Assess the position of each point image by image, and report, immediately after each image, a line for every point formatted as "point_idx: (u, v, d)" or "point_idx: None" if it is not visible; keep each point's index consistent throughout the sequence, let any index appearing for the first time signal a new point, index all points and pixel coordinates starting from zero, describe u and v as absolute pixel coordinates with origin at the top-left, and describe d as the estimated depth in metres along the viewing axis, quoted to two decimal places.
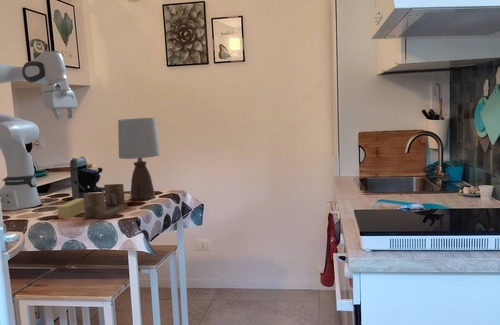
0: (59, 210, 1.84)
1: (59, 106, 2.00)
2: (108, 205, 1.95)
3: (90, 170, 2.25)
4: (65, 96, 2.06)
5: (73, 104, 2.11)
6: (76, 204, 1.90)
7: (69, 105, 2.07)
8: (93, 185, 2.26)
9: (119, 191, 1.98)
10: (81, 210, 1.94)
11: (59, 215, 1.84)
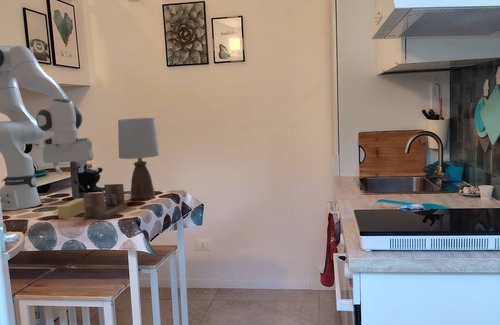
0: (59, 210, 1.84)
1: (54, 161, 1.88)
2: (108, 205, 1.95)
3: (90, 170, 2.25)
4: (69, 149, 1.87)
5: (81, 157, 1.86)
6: (76, 204, 1.90)
7: (73, 159, 1.87)
8: (93, 185, 2.26)
9: (119, 191, 1.98)
10: (81, 210, 1.94)
11: (59, 215, 1.84)
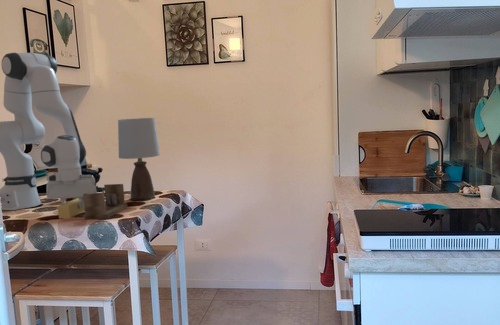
0: (59, 210, 1.84)
1: (58, 197, 1.90)
2: (108, 205, 1.95)
3: (90, 170, 2.25)
4: (72, 185, 1.89)
5: None
6: (76, 204, 1.90)
7: (76, 195, 1.89)
8: None
9: (119, 191, 1.98)
10: (82, 210, 1.94)
11: (59, 215, 1.84)
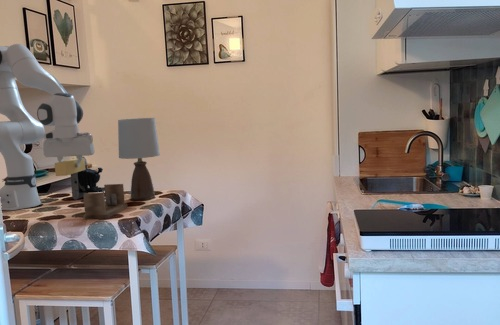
0: (56, 166, 1.82)
1: (55, 155, 1.88)
2: (108, 205, 1.95)
3: (90, 170, 2.25)
4: (70, 143, 1.87)
5: (82, 152, 1.86)
6: (73, 162, 1.88)
7: (73, 153, 1.87)
8: (93, 185, 2.26)
9: (119, 191, 1.98)
10: (79, 169, 1.92)
11: (56, 172, 1.82)
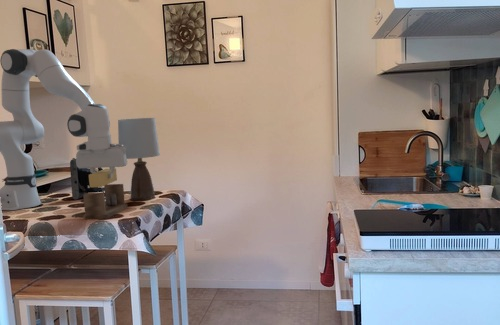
0: (90, 178, 1.81)
1: (88, 166, 1.87)
2: (108, 205, 1.95)
3: None
4: (103, 155, 1.86)
5: (115, 163, 1.85)
6: (106, 173, 1.87)
7: (106, 165, 1.86)
8: None
9: (119, 191, 1.98)
10: (111, 180, 1.91)
11: (90, 183, 1.81)
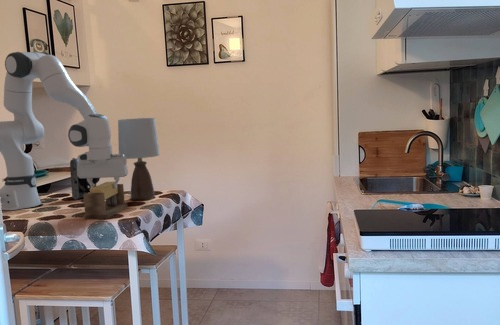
0: (91, 192, 1.81)
1: (89, 176, 1.87)
2: (108, 205, 1.95)
3: None
4: (103, 165, 1.86)
5: (116, 174, 1.86)
6: (107, 187, 1.87)
7: (107, 175, 1.86)
8: None
9: (119, 191, 1.98)
10: (112, 193, 1.92)
11: None
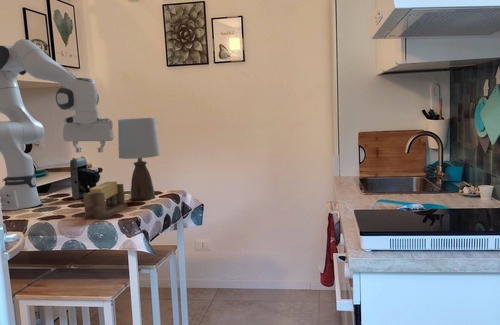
0: (91, 192, 1.81)
1: (74, 139, 1.89)
2: (108, 205, 1.95)
3: (90, 170, 2.25)
4: (89, 128, 1.88)
5: (101, 137, 1.87)
6: (107, 187, 1.87)
7: (93, 139, 1.88)
8: (93, 185, 2.26)
9: (119, 191, 1.98)
10: (112, 193, 1.92)
11: None
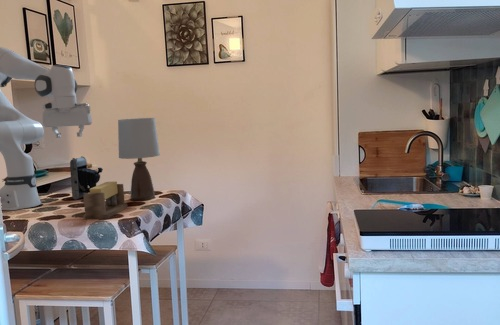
0: (91, 192, 1.81)
1: (54, 125, 1.94)
2: (108, 205, 1.95)
3: (90, 170, 2.25)
4: (68, 113, 1.93)
5: (79, 122, 1.93)
6: (107, 187, 1.87)
7: (72, 123, 1.93)
8: (93, 185, 2.26)
9: (119, 191, 1.98)
10: (112, 193, 1.92)
11: None
